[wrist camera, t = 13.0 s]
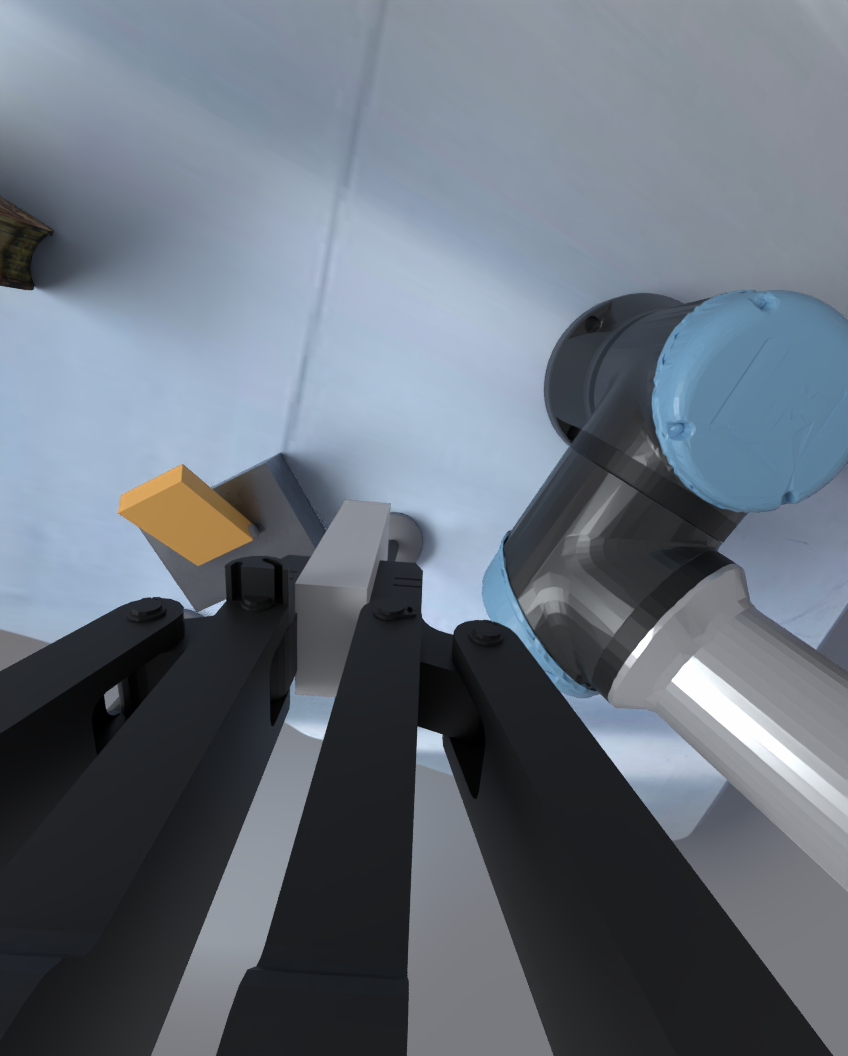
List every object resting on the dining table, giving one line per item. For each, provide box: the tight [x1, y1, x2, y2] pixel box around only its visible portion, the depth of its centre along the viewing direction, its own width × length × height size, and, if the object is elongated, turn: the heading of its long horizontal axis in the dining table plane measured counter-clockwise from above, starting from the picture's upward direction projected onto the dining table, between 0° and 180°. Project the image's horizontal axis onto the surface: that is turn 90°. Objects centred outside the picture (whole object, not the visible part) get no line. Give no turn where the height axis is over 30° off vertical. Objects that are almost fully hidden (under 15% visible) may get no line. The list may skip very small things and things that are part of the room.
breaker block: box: [139, 453, 326, 612], centre depth 51 cm, size 11×14×5 cm
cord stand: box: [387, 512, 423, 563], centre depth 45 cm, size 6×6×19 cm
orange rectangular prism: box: [118, 464, 259, 566], centre depth 44 cm, size 2×6×10 cm
